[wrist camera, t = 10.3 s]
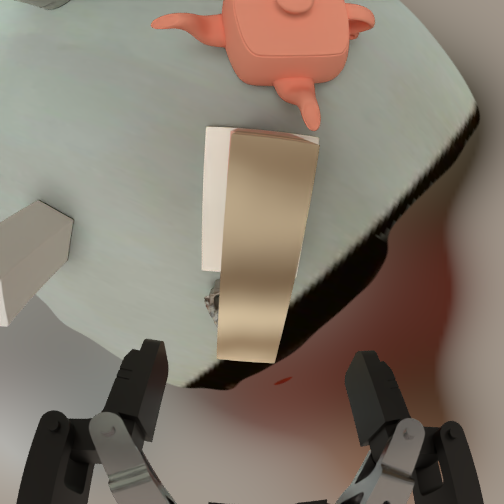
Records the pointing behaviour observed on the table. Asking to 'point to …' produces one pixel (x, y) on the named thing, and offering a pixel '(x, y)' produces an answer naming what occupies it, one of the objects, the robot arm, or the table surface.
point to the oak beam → (262, 240)
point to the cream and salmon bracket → (221, 190)
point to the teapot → (281, 43)
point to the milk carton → (30, 254)
